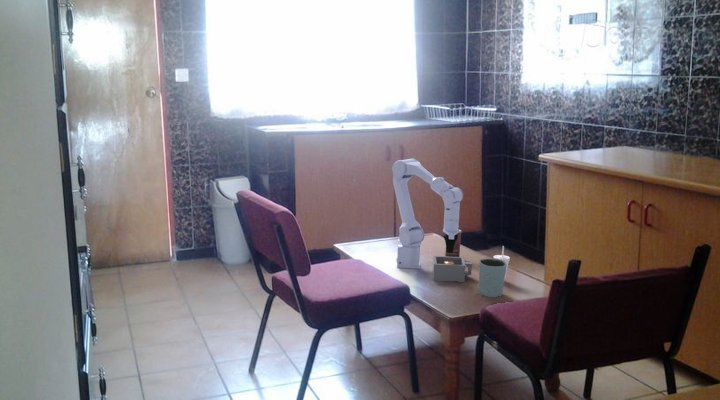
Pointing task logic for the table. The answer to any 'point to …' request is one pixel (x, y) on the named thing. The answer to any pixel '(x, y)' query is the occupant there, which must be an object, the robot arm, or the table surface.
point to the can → (455, 246)
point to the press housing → (450, 269)
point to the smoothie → (503, 259)
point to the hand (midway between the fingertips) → (449, 252)
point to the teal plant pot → (491, 277)
